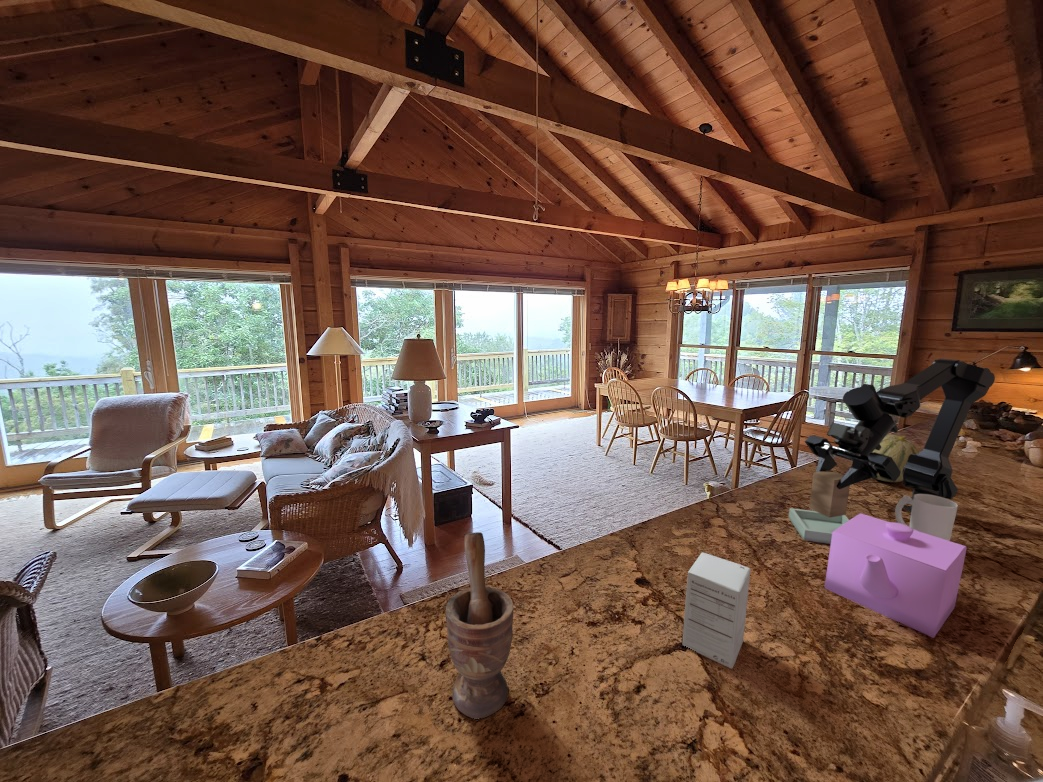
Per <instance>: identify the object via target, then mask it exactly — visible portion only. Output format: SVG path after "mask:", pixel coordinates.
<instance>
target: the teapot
mask: <svg viewBox="0 0 1043 782" xmlns="http://www.w3.org/2000/svg"><path fill="white" fill-rule="evenodd" d="M906 525H907V524H906ZM906 525H903V524H900V523H897V522H891V521H890V522H889V521H886V520H884V519H880V518H877V517H875V516H871V515H867V514H865V513H861V512H859V513H858V514H857V515H856V516H854V517H853V518H851V519H849V521H848V522H846V523H845V524H843V525H842V526H840V527H839V528H837V529H836V530H834V531H833V532H832V539H831V544H830V545H829V552H828V553H829V555H828V561H827V568H826V573H825V574H826V575H825V581H824V589H825V590H827V591H830V592H832V593H834V594H836V595H839V596H841V597H842V598H845V599H848V600H849V601H852V602H854V603H856V604H858V605H859V606H862V607H865V608H867V609H869V610H871V611H874V612H875V613H878V614H880V615H882V616H884V617H886V618H889V619H890V620H893V621H895V622H897V623H899V622H900V624H901V625H904V626H906V627H907V628H911V629H913V630H915V631H917V632H919V633H922V634H924V635H926V636H928V637H931V638H933V639H934V638H935V637H936V636H937V634H938V632H939V631H940V630H941V628H942V627H943V625H944V624H945V622H946V621H947V619H948V618H949V616H950V615H951V613H952V612H953V610H954V609H955V608H956V602H957V598H958V597H957V596H958V593H959V587H960V582H961V578H962V572H963V568H964V564H965V558H966V553H967V546H966V545H964V544H963V545H962V544H960V543H956V542H953V541H951V540H950V541H948V540H945V539H941V538H938V537H935V536H932V535H929V534H925V533H922V532H919V531H917V530H914V529H912V528H910V527H908V526H909V525H908V526H906Z"/></svg>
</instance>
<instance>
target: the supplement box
mask: <svg viewBox="0 0 1043 782" xmlns="http://www.w3.org/2000/svg"><path fill="white" fill-rule="evenodd" d="M751 571H752V570H751V568H750V567H748V566H745V565H742V564H740V563H736V562H733V561H730V560H728V559H724V558H720V557H719V556H715V555H713V554H708V553H706V552H703V551H702V552H701V553H700V554H699V556H698V557H697V558H696V560H695V562H694V563H693V564H692V566H691V567H690V569H689V570H688V572H687V579H686V580H687V581H686V582H687V583H686V593H685V603H684V604H685V605H684V607H685V608H684V618H683V632H682V646H684V647H685V646H686V648H687V647H688V648H687V649H689V648H690V649H689V650H691V649H692V650H691V651H693V650H694V652H695V651H696V652H695V653H697V654H699V655H701V656H703V657H706V658H708V659H710V660H712V661H714V662H716V663H719V664H721V665H722V666H725V667H727V668H729V669H733V668H734V665H735V664H736V661H737V658H738V656H739V653H740V650H741V648H742V645H743V643H744V640H745V639H744V637H745V628H746V627H745V626H746V619H747V617H746V615H747V609H748V608H747V607H748V597H749V591H750V590H749V588H750V578H751Z"/></svg>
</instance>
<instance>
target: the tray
mask: <svg viewBox="0 0 1043 782" xmlns="http://www.w3.org/2000/svg"><path fill="white" fill-rule="evenodd" d="M788 519H789V520H790V522H791V523H792V525H793V526H794V527H795V529H796V531H797V532H798V534H799V535H800V537H801V538H802V540H803V541H808V542H814V543H818V544H819V543H821V544H829V545H831V539H832V532H833V531H834V530H836V529H837V528H839V527H840V526H842V525H843V524H845V523H846V522H848V521H849V520H850V519H849V518H848V517H847V516H846V515H842V516H836V517H830V518H829V517H827V516H825V515H822V514H820V513H818V512H816V511H814V510H810V509H808V510H807V509H802V508H801V509H800V508H791V507H789V509H788Z"/></svg>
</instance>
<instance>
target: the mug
mask: <svg viewBox="0 0 1043 782" xmlns="http://www.w3.org/2000/svg"><path fill="white" fill-rule="evenodd" d="M907 504H909V505H912V510H911V513H910V517H909V518H910V519H909V525H908V524H907V523H906V522H905V521H904V519H903V515H902V510H903V509H904V507H903V506H904V505H907ZM958 506H959V504H958V503H956V502H955V501H953V500H952V499H946V498H942V497H939V496H934V495H929V494H915V495H914V498H913V499H912V496H908V495H907V494H903V495H902V497H901V498H900V500H899V501H898V502H897V504H896V506H895V509H894V512H895V513H894V515H895V519H896V523H900V524H903V525H906V526H908V527H910V528H912V529H914V530H917V531H919V532H922V533H925V534H929V535H932V536H935V537H938V538H941V539H945V540H948V541H951V537H952V533H953V529H954V524H955V519H956V516H957V512H958Z"/></svg>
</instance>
